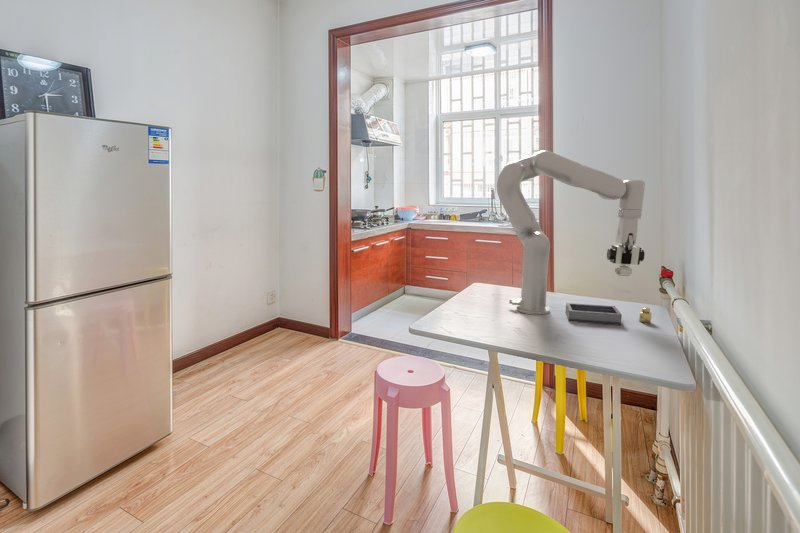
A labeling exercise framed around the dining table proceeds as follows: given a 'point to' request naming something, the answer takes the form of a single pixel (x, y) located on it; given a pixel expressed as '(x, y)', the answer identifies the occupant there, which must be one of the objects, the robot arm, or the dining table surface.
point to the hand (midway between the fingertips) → (623, 262)
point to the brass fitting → (645, 315)
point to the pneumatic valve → (616, 255)
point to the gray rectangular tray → (593, 314)
